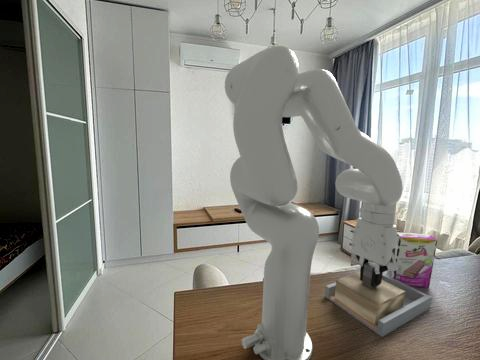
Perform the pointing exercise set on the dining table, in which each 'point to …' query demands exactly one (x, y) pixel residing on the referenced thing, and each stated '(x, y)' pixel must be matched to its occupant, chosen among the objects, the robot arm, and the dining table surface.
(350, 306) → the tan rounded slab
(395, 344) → the dining table surface
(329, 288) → the bay
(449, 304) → the dining table surface
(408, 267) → the candy bar box
